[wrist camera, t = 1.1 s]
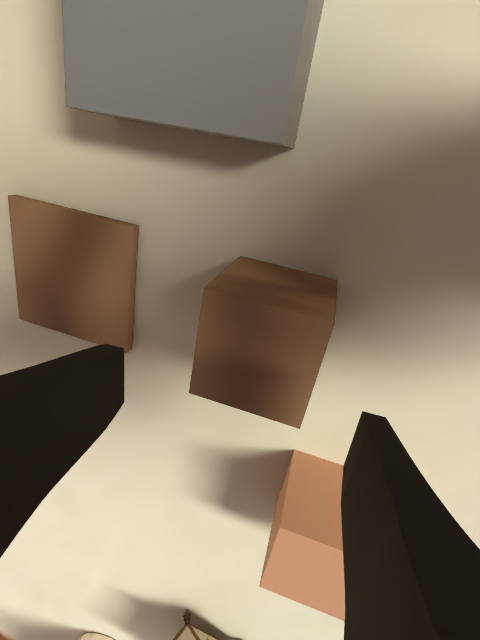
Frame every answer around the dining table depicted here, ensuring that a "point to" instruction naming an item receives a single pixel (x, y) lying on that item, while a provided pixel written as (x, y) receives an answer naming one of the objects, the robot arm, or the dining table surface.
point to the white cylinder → (94, 637)
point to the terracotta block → (308, 537)
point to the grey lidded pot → (192, 631)
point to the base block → (193, 63)
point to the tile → (74, 271)
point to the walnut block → (263, 339)
